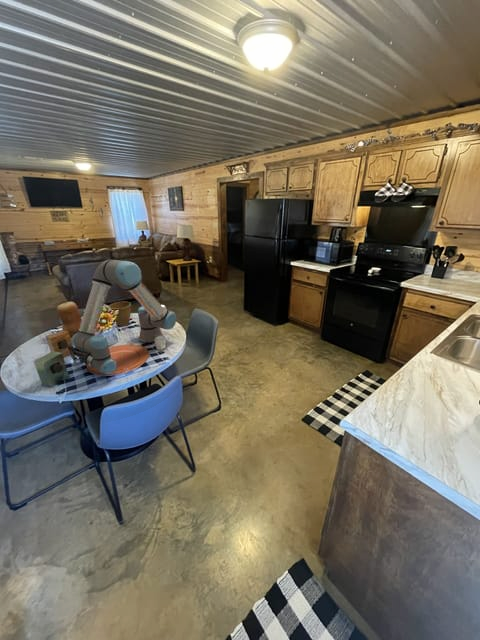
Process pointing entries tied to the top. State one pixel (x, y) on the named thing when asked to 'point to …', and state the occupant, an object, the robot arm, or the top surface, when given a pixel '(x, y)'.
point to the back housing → (56, 338)
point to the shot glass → (160, 342)
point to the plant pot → (122, 312)
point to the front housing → (45, 370)
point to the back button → (63, 344)
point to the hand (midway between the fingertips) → (69, 347)
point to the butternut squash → (69, 317)
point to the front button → (57, 368)
